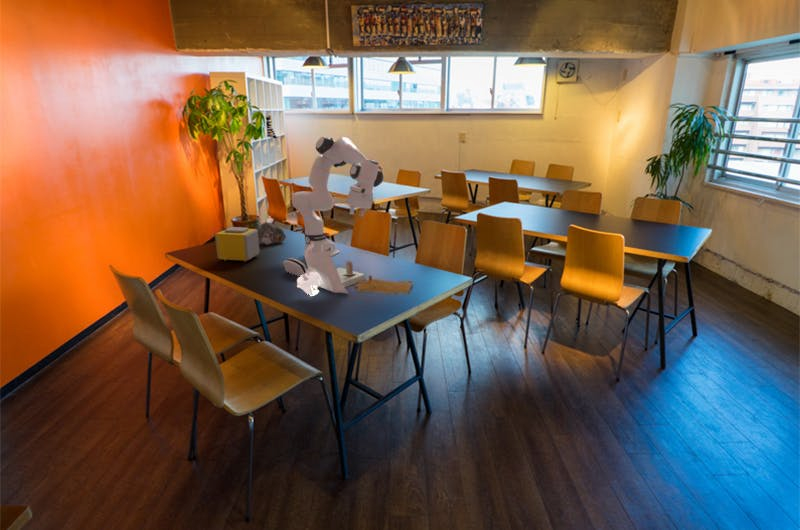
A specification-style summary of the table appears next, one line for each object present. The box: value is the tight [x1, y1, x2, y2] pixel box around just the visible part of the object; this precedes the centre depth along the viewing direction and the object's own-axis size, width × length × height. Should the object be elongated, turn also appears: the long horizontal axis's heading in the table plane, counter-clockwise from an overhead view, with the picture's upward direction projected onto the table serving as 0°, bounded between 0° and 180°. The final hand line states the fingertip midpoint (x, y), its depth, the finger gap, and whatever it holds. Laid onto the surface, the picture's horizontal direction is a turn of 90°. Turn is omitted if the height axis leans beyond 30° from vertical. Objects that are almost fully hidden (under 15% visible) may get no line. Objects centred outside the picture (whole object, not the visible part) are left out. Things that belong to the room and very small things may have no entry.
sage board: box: [336, 267, 366, 289], centre depth 234 cm, size 18×18×3 cm
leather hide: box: [353, 275, 413, 295], centre depth 223 cm, size 29×26×5 cm
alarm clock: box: [214, 226, 261, 263], centre depth 267 cm, size 20×16×18 cm
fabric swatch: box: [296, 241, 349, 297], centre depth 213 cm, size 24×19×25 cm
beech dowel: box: [345, 260, 354, 277], centre depth 232 cm, size 3×3×11 cm
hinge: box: [282, 257, 308, 277], centre depth 242 cm, size 17×5×10 cm, turn 48°
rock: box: [256, 221, 287, 246], centre depth 304 cm, size 18×14×15 cm
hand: (356, 215), depth 239 cm, fingers open, 8 cm apart
